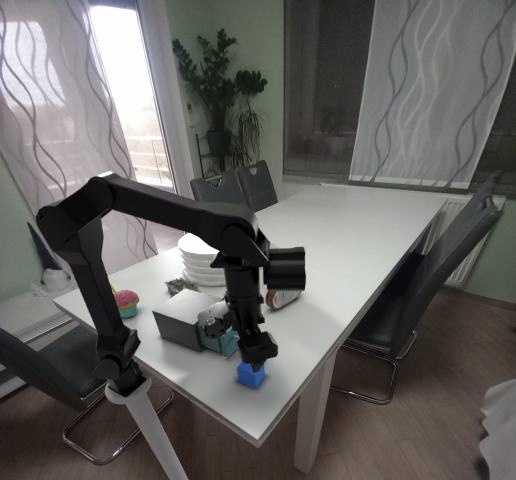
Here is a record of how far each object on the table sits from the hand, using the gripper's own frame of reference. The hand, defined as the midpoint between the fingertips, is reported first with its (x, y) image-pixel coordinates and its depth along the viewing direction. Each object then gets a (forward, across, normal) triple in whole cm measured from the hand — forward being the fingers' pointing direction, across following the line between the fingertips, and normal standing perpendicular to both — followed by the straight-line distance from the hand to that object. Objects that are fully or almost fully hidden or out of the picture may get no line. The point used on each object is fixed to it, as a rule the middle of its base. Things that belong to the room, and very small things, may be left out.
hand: (249, 356), depth 56 cm
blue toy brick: (+7, 0, 0) cm, 7 cm away
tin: (+7, -27, +18) cm, 33 cm away
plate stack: (+7, -59, +5) cm, 60 cm away
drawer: (+6, -14, -3) cm, 16 cm away
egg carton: (+7, -46, -11) cm, 48 cm away
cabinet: (+7, -22, -10) cm, 25 cm away
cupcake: (+7, -39, -28) cm, 49 cm away
